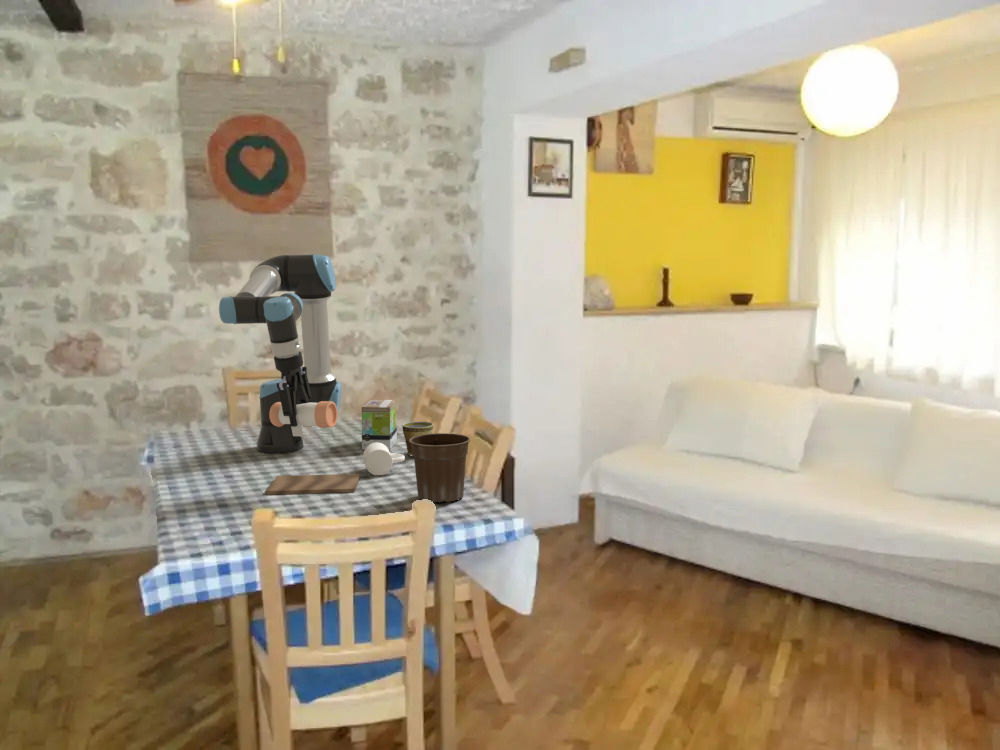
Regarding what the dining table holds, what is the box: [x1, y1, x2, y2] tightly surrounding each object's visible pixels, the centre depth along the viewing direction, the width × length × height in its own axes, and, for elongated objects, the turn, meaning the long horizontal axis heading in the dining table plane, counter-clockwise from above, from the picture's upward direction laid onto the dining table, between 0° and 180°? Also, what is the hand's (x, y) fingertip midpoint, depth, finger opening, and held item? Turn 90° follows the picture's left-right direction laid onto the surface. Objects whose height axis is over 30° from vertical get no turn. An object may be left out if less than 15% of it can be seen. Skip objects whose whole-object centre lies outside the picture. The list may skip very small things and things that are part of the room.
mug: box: [362, 442, 406, 476], centre depth 265 cm, size 12×10×8 cm
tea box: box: [361, 399, 398, 451], centre depth 299 cm, size 15×10×15 cm, turn 179°
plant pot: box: [409, 432, 471, 504], centre depth 236 cm, size 16×16×16 cm
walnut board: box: [265, 473, 361, 495], centre depth 250 cm, size 24×16×1 cm, turn 93°
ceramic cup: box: [401, 421, 434, 456], centre depth 287 cm, size 13×10×10 cm
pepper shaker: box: [269, 401, 339, 429], centre depth 247 cm, size 7×7×19 cm
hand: (302, 430), depth 249 cm, fingers closed on pepper shaker, 5 cm apart
